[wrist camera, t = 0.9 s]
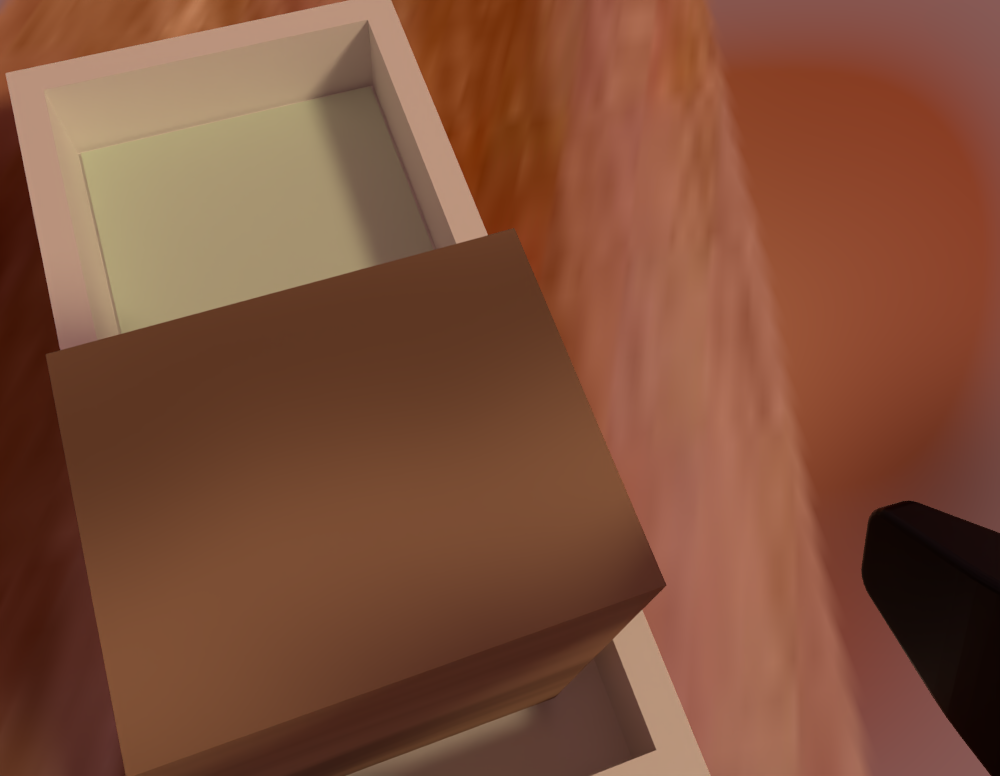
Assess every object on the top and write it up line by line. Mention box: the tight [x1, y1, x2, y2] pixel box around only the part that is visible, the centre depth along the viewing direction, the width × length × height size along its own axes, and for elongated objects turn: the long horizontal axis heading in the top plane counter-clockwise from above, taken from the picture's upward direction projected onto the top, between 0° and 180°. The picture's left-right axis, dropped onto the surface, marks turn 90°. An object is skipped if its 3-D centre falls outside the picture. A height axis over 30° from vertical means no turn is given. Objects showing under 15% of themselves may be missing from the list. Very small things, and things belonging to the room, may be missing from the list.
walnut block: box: [46, 228, 666, 776], centre depth 16 cm, size 5×6×11 cm
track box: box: [6, 0, 710, 776], centre depth 23 cm, size 21×10×4 cm, turn 20°
